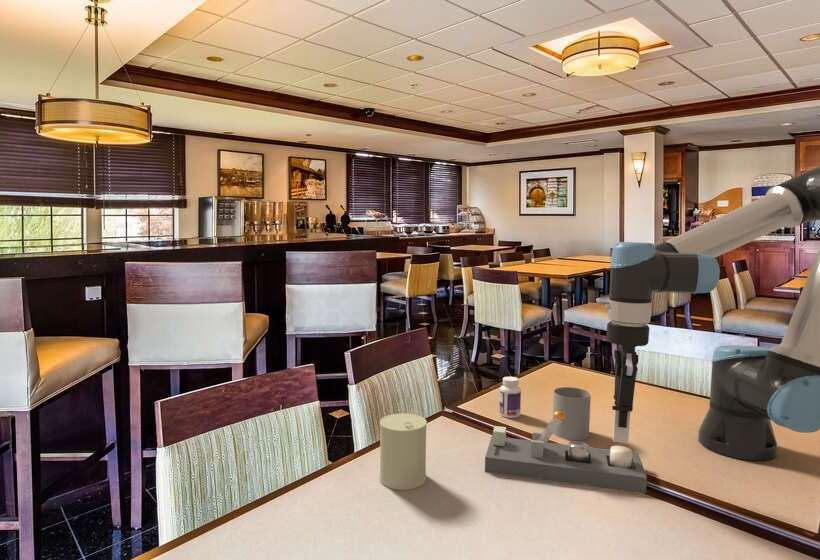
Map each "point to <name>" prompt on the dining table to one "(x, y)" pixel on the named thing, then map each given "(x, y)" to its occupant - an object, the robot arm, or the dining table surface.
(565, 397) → the cup
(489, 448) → the panel
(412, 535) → the dining table surface
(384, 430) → the can
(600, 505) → the dining table surface
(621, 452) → the ivory button
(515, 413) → the pill bottle
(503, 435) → the slider
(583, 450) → the grey button
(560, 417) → the lever
